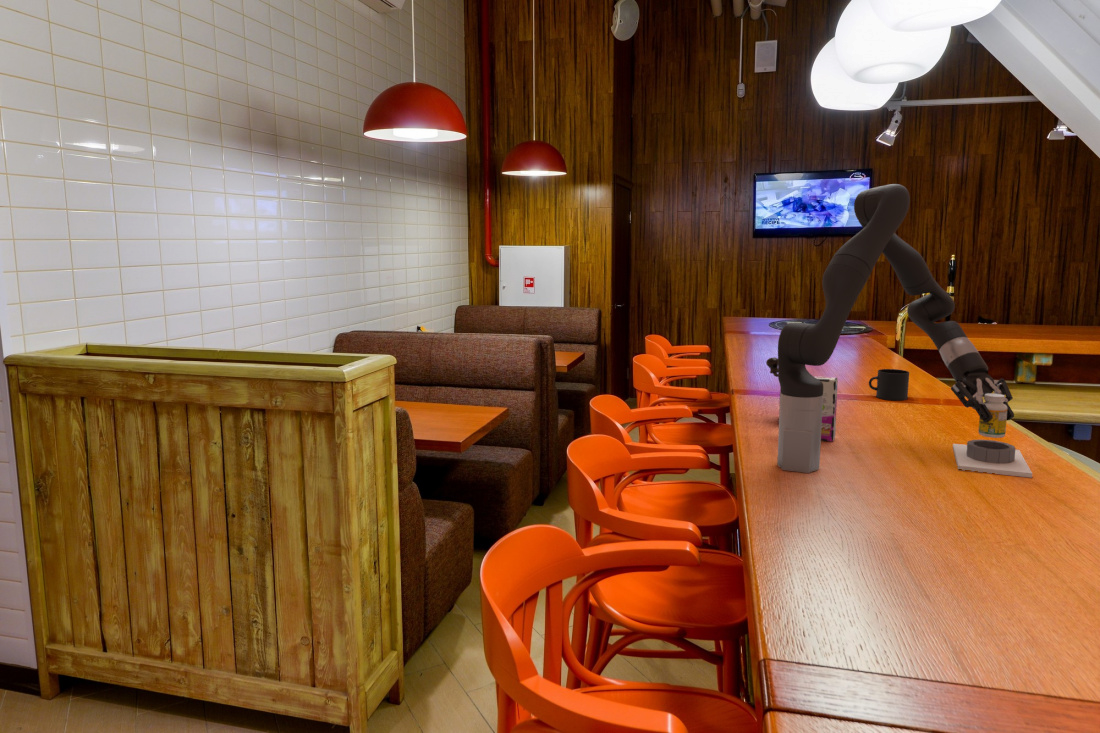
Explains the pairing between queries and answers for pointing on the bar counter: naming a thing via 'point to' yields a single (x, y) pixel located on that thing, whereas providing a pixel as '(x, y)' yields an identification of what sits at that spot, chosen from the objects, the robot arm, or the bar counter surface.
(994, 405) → the supplement bottle
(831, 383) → the candy bar box
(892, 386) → the mug
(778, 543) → the bar counter surface
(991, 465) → the socket plate
